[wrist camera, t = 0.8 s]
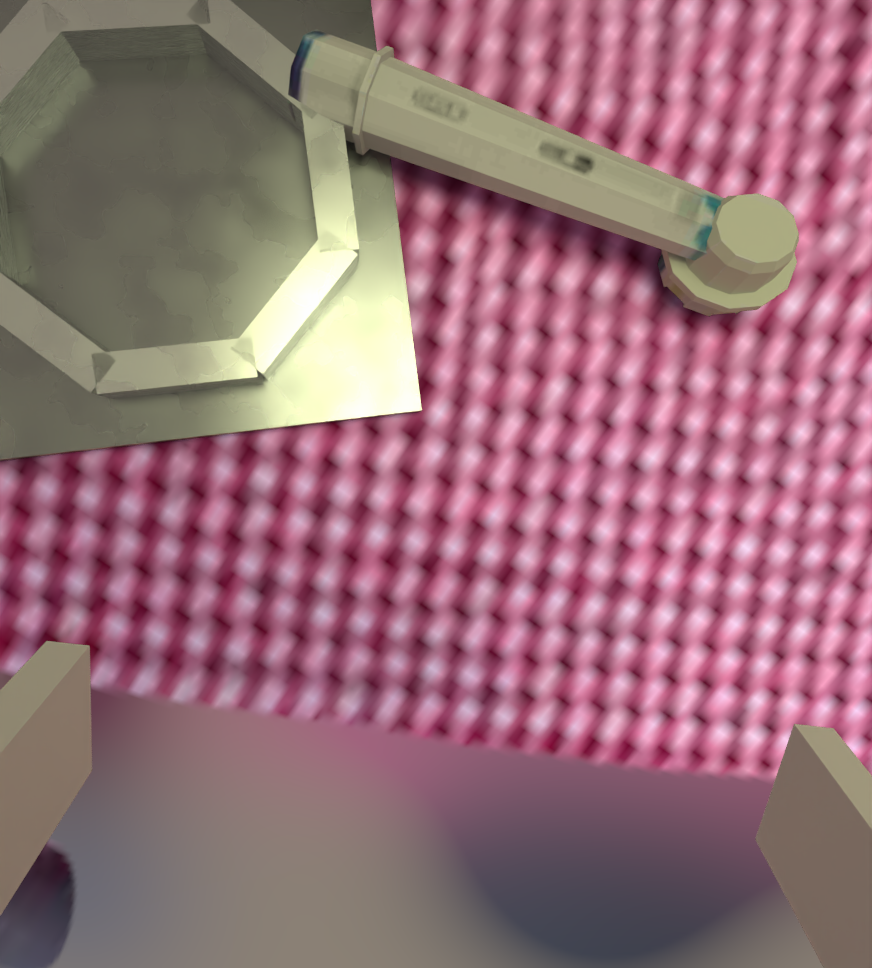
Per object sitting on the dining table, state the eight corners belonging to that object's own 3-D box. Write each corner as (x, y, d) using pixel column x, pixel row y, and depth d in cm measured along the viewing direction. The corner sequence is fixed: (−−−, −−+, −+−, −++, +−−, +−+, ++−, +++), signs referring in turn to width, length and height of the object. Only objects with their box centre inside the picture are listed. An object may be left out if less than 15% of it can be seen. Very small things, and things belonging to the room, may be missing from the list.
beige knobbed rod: (317, -8, 33) (856, 188, 32) (337, 82, 39) (784, 246, 39) (274, 100, 32) (816, 300, 32) (301, 172, 39) (751, 339, 39)
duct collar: (-105, -3, 35) (-154, -54, 31) (365, -26, 37) (366, -75, 34) (-37, 465, 35) (-77, 464, 32) (419, 411, 38) (426, 406, 35)
